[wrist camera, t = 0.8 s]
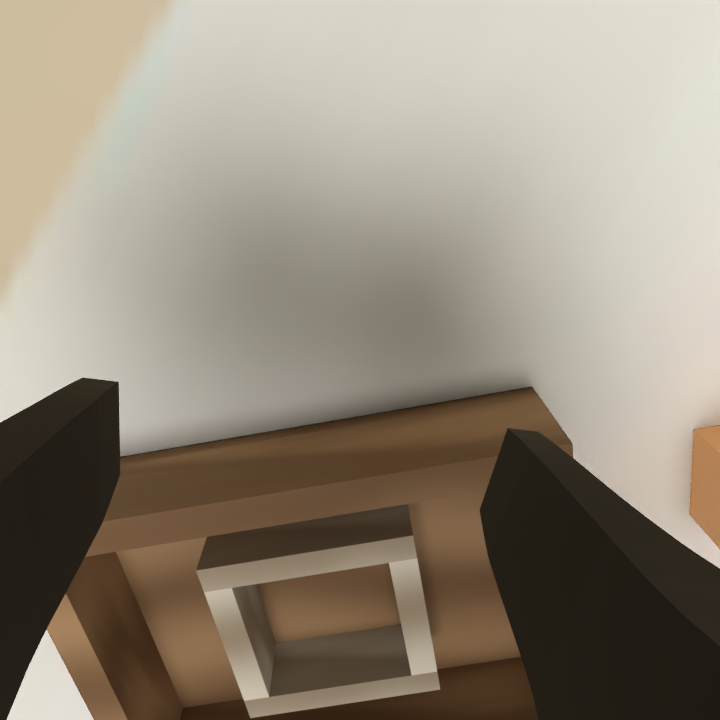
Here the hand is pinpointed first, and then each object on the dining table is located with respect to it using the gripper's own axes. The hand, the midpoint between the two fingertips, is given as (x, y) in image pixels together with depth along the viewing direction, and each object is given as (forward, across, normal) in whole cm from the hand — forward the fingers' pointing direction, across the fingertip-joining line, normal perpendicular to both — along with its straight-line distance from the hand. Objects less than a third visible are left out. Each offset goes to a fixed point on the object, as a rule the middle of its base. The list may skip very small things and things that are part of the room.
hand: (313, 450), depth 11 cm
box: (+9, -2, +12) cm, 15 cm away
